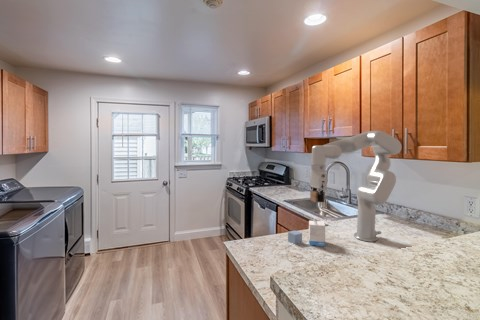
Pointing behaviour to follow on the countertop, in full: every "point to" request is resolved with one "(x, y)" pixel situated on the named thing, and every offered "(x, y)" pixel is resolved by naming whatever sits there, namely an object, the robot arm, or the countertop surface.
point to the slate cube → (294, 237)
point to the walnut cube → (315, 196)
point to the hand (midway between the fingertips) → (317, 199)
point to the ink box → (317, 233)
